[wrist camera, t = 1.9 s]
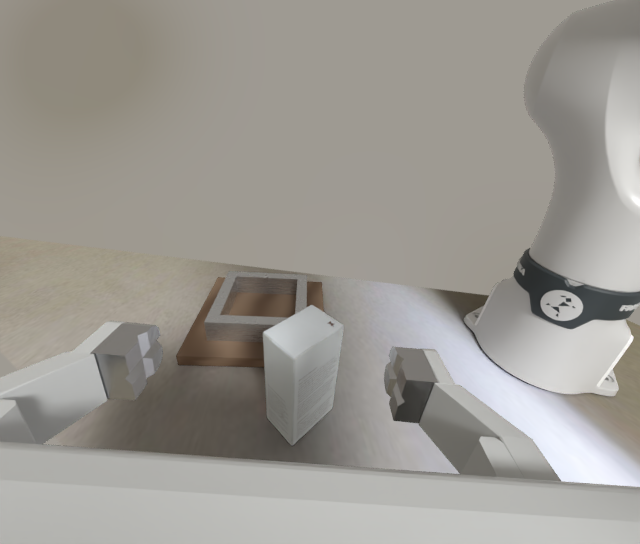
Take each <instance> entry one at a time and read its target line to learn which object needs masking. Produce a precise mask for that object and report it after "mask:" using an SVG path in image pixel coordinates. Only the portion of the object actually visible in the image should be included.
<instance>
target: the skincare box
mask: <svg viewBox="0 0 640 544" xmlns="http://www.w3.org/2000/svg"><path fill="white" fill-rule="evenodd" d="M343 330H344V325H343V324H341V323H340V322H338V321H337V320H335V319H333V318H332V317H330V316H329V315H327V314H326V313H324V312H323V311H321V310H320V309H318V308H317V307H315V306H313V305H310V306H308V307H307V308H305V309H303V310H301V311H300V312H298V313H296V314H294V315H293V316H291V317H289V318H287V319H285V320H284V321H282V322H280V323H278V324H277V325H275V326H273V327H271V328H269V329H268V330H266V331H264V332H263V346H264V367H265V389H266V410H267V418H268V420H269V421H270V422H271V423H272V424H273V425H274V426H275V427H276V429H277V430H278V431H279V432H280V433H281V434H282V435H283V437H284V438H285V439H286V440H287V441H288V442H289V444H290V445H291V446H293V445H294V444H295V443H296V442H297V441H298V440H299V439H300V438H301V437H303V436H304V435H305V434H306V433H307V432H308V431H309V430H310V429H311V428H312V427H313V426H314V425H315V424H316V423H317V422H318V421H320V420H321V419H322V418H323V417H324V416H325V415H326V414H327V413H328V412H329V411H330V410H331V409H332V408H333V401H334V394H335V387H336V380H337V373H338V366H339V359H340V351H341V345H342V337H343Z"/></svg>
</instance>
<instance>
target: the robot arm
mask: <svg viewBox="0 0 640 544" xmlns="http://www.w3.org/2000/svg"><path fill="white" fill-rule="evenodd" d="M524 101H525V106H526V109H527V111H528V114H529V116H530V117H531V118H532V120H533V121H534V122H535V123H536V124H537V125H538V127H539V128H540V129H541V131H542V132H543V133H544V135H545V137H546V139H547V141H548V143H549V145H550V148H551V151H552V154H553V159H554V165H555V182H554V189H553V193H552V197H551V200H550V203H549V206H548V209H547V212H546V214H545V217H544V219H543V222H542V224H541V226H540V229H539V231H538V234H537V235H536V238H535V240H534V242H533V244H532V246H531V248H529V249H527V250H526V251H525V252H524V254H523V256H522V257H521V258H520V259H519V261H518V263H517V267H516V269H515V271H514V276H513V277H511V278H509V279H505V280H502V281H501V282H500V283H496V284H495V286H494V288H493V289H492V291H491V293H490V295H489V297H488V299H487V301H486V303H485V305H484V306H482V307H480V308H478V309H476V310H474V311H472V312H471V313H469V314H467V315H466V317H465V318H464V322H465V324H466V325H467V326H468V327H469V328H470V329H471V330H472V331H473V332H474V334H475V336H476V338H477V341H478V343H479V345H480V346H481V348H482V349H483V351H484V352H485V353H486V354H487V355H488V356H489V357H490V358H491V359H492V360H493V361H494V362H495V363H496V364H498V365H499V366H500V367H501V368H503V369H504V370H506V371H507V372H509V373H510V374H512V375H514V376H515V377H517V378H519V379H521V380H523V381H525V382H527V383H529V384H531V385H534V386H536V387H539V388H542V389H545V390H548V391H552V392H556V393H562V394H579V393H595V394H600V395H605V396H615V395H616V393H617V391H618V390H619V387H618V384H617V381H616V378H615V375H614V372H613V367H614V366H615V365H616V363H617V362H618V361H619V359H620V358H621V356H622V355H623V354H624V352H625V351H626V350H627V348H628V347H629V345H630V344H631V343H632V341H633V336H632V335H631V331H630V328H629V327H628V326H627V324H626V320H625V319H626V318H628V317H629V316H630V315H631V314H632V313H633V311H634V310H635V309H636V308H638V307H639V306H640V163H639V157H640V0H614V1H610V2H606V3H603V4H599V5H596V6H593V7H589V8H586V9H582V10H579V11H576V12H574V13H572V14H571V15H570V16H568V17H567V18H566V19H565V20H564V21H563V22H561V24H559V25H558V26H557V27H556V28H555V29H554V30H553V31H552V33H551V34H550V35H549V36H548V37H547V38H546V40H545V41H544V42H543V43H542V45H541V46H540V48H539V49H538V51H537V53H536V55H535V56H534V58H533V60H532V62H531V64H530V67H529V70H528V72H527V76H526V79H525V85H524ZM159 336H160V332H159V327H157V326H156V325H148V324H139V323H130V322H120V321H108V322H106V323H105V324H104V325H102V326H101V327H100V328H99V329H98V330H96V331H95V332H94V333H93V334H92V335H91V336H89V337H88V338H87V339H86V340H85V341H84V342H82V343H81V344H80V345H79V346H78V347H77V348H75V349H74V350H73V351H72V352H64V353H61V354H59V355H56V356H54V357H51V358H49V359H46V360H43V361H41V362H38V363H36V364H33V365H31V366H28V367H26V368H23V369H21V370H18V371H15V372H13V373H10V374H8V375H5V376H3V377H0V544H640V487H632V486H617V485H603V484H589V483H575V482H561V480H560V479H559V477H558V476H557V474H556V473H555V472H554V470H553V469H552V467H551V466H550V464H549V463H548V461H547V460H546V459H545V457H544V456H543V454H542V453H541V451H540V450H539V449H538V447H537V446H536V444H535V443H534V441H533V440H532V439H531V438H530V437H528V436H527V435H526V434H524V433H523V432H522V431H520V430H519V429H518V428H516V427H515V426H514V425H512V424H511V423H510V422H508V421H507V420H506V419H504V418H503V417H502V416H500V415H499V414H498V413H496V412H495V411H494V410H492V409H491V408H490V407H488V406H487V405H486V404H484V403H483V402H482V401H480V400H479V399H478V398H476V397H475V396H474V395H472V394H471V393H470V392H468V391H467V390H466V389H464V388H463V387H462V386H460V385H455V383H454V381H453V380H452V378H451V376H450V374H449V372H448V371H447V369H446V367H445V365H444V363H443V361H442V360H441V358H440V356H439V354H438V352H437V351H436V350H434V349H414V348H402V347H392V348H391V350H390V354H389V357H390V361H391V362H390V363H388V364H387V365H386V369H385V375H384V383H385V389H386V393H387V394H388V395H389V396H390V397H391V398H390V402H389V405H390V409H391V413H392V417H393V420H394V421H401V422H410V423H419V426H420V427H421V428H422V429H423V430H424V432H425V433H426V434H427V435H428V436H429V437H430V439H431V440H432V441H433V442H434V443H435V445H436V446H437V447H438V448H439V449H440V451H441V452H442V453H443V454H444V455H445V456H446V458H447V459H448V460H449V461H450V462H451V464H452V465H453V466H454V467H455V468H456V469H457V471H458V472H459V473H460V474H450V473H436V472H422V471H409V470H395V469H381V468H367V467H353V466H339V465H325V464H311V463H297V462H283V461H269V460H255V459H241V458H227V457H213V456H200V455H186V454H172V453H158V452H144V451H130V450H116V449H102V448H88V447H74V446H60V445H45V444H43V443H45V442H46V441H48V440H49V439H51V438H52V437H54V436H55V435H57V434H58V433H60V432H61V431H63V430H64V429H66V428H67V427H69V426H70V425H72V424H73V423H75V422H76V421H78V420H79V419H81V418H82V417H84V416H85V415H87V414H88V413H90V412H91V411H93V410H94V409H96V408H97V407H98V406H100V405H101V404H103V403H104V402H106V401H107V399H119V400H136V399H137V398H138V396H139V395H140V393H141V392H142V391H143V389H144V388H145V386H146V385H147V379H146V378H147V377H149V376H151V375H153V374H154V373H155V372H156V371H157V369H158V368H159V366H160V363H161V360H162V355H163V350H162V345H161V344H160V343H159V342H158V341H157V339H158V338H159Z"/></svg>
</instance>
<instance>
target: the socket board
mask: <svg viewBox="0 0 640 544" xmlns="http://www.w3.org/2000/svg"><path fill="white" fill-rule="evenodd" d="M310 305H313V306H315V307H317V308H318V309H320V310H321V311H323V312H324V308H323V294H322V282H307V275H298V274H278V273H258V272H238V271H229V272H228V274H227V276H226V278H222V277H218V278H217V280H216V282H215V284H214V286H213V288H212V290H211V291H210V293H209V295H208V297H207V299H206V301H205V303H204V305H203V307H202V308H201V310H200V312H199V314H198V316H197V318H196V320H195V322H194V323H193V325H192V327H191V329H190V331H189V333H188V335H187V337H186V339H185V340H184V342H183V344H182V346H181V348H180V350H179V352H178V354H177V355H176V357H177V361H178V365H199V366H235V367H264V346H263V332H264V331H266V330H268V329H269V328H271V327H273V326H275V325H277V324H278V323H280V322H282V321H284V320H285V319H287V318H289V317H291V316H293V315H294V314H296V313H298V312H300V311H301V310H303V309H305V308H307V307H308V306H310Z"/></svg>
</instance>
